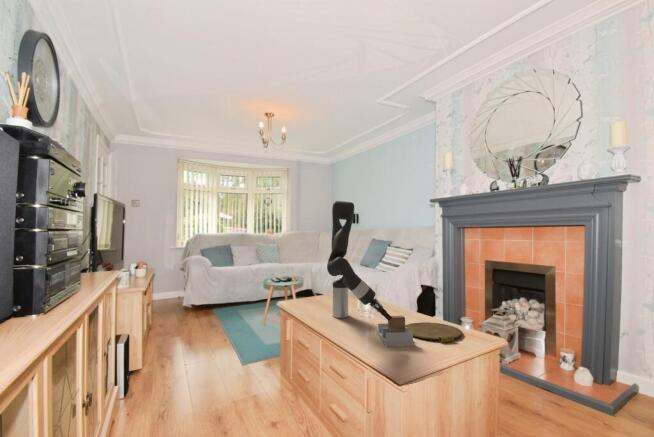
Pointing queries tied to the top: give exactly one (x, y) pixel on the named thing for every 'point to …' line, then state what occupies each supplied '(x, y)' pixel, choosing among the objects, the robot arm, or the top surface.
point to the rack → (394, 336)
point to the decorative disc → (434, 331)
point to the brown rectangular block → (396, 324)
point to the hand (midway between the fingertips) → (387, 316)
